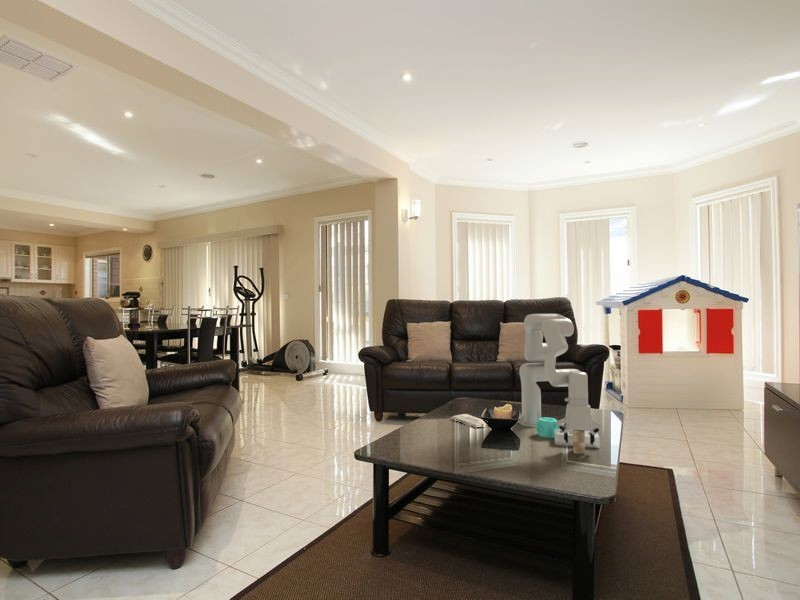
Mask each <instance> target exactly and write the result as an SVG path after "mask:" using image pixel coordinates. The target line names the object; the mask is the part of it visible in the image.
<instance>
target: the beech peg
mask: <svg viewBox="0 0 800 600" xmlns="http://www.w3.org/2000/svg"><path fill="white" fill-rule="evenodd" d="M572 450H573V453H574V454H581V455H586V447H585V431H582V430H573V446H572Z"/></svg>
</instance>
